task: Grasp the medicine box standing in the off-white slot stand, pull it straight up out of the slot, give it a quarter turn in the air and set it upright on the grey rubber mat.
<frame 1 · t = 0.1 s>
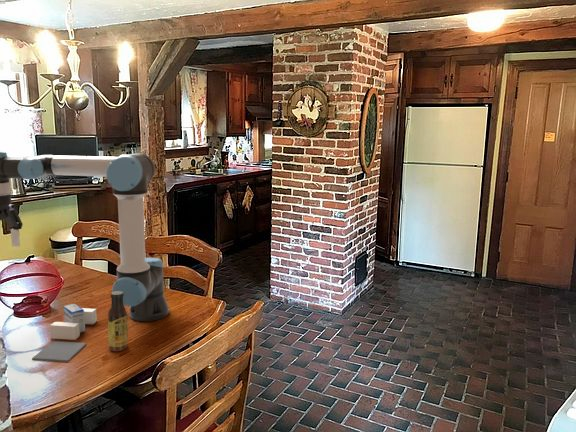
hand: (4, 250, 174), 28 cm above the table, tool pointing down, fingers open, 13 cm apart
slot stand: (74, 329, 175), on the table
sauce bottle: (118, 348, 161), on the table
rubber mat: (60, 351, 158), on the table
medicine box: (74, 330, 175), on the table
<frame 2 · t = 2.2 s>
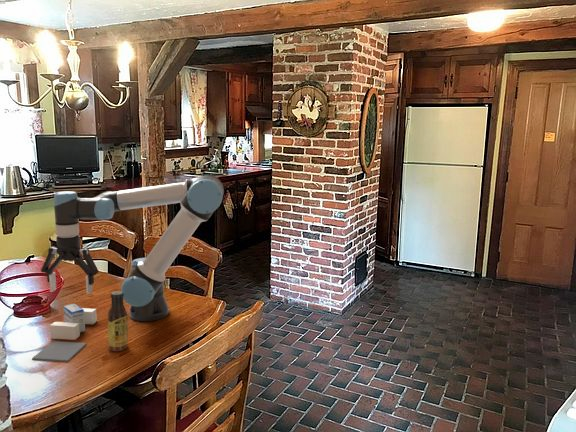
hand: (71, 291, 172), 15 cm above the table, tool pointing down, fingers open, 13 cm apart
nothing on the table moved.
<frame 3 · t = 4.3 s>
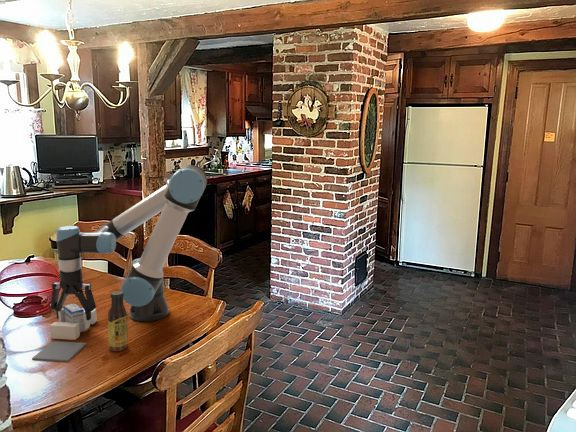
hand: (74, 327, 174), 1 cm above the table, tool pointing down, fingers closed on medicine box, 9 cm apart
medicine box: (74, 329, 175), on the table, touching gripper
everything else where it was.
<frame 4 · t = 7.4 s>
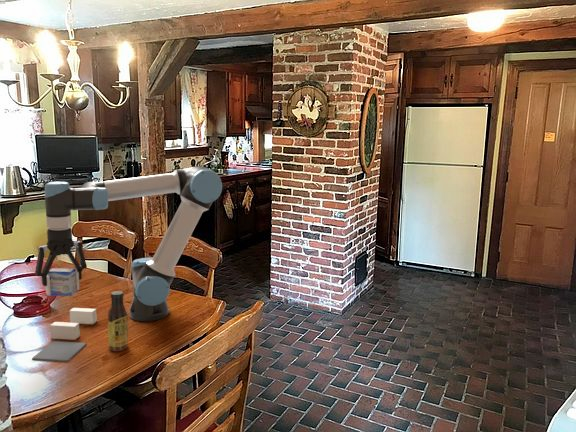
hand: (62, 291, 163), 18 cm above the table, tool pointing down, fingers closed on medicine box, 9 cm apart
medicine box: (63, 294, 164), point 17 cm above the table, touching gripper
everything else where it was.
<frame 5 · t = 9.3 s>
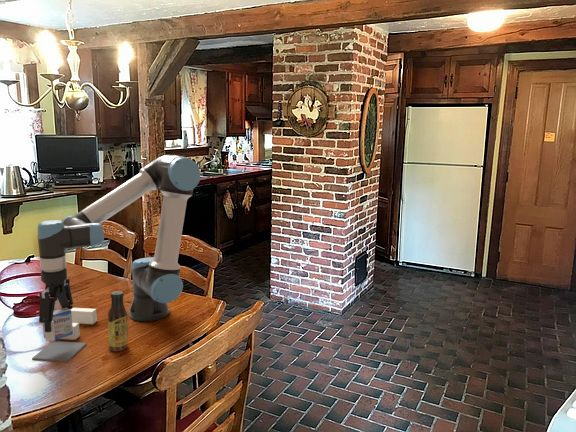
hand: (58, 333, 156), 7 cm above the table, tool pointing down, fingers closed on medicine box, 9 cm apart
medicine box: (58, 336, 157), point 6 cm above the table, touching gripper
everything else where it was.
when the fingers open (3 cm above the table, at t = 10.8 s): medicine box drops 1 cm, resting on rubber mat.
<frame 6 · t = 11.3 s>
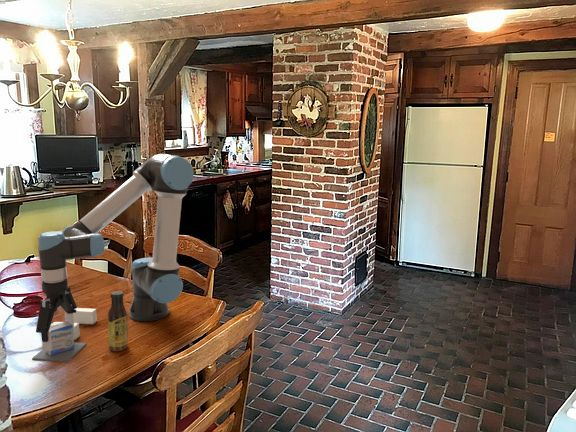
hand: (59, 340, 157), 4 cm above the table, tool pointing down, fingers open, 13 cm apart
medicine box: (60, 350, 158), resting on rubber mat
everything else where it was.
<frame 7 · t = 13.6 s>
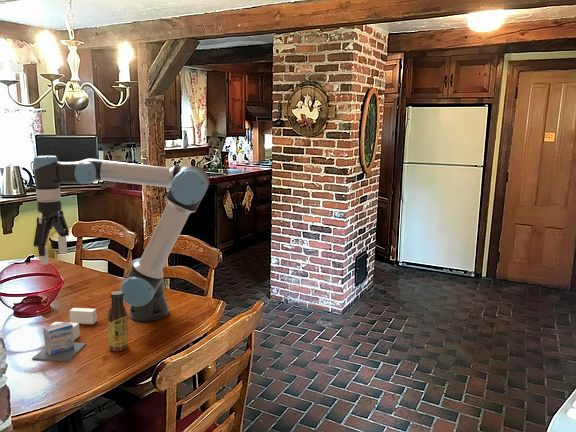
hand: (54, 258, 169), 27 cm above the table, tool pointing down, fingers open, 13 cm apart
nothing on the table moved.
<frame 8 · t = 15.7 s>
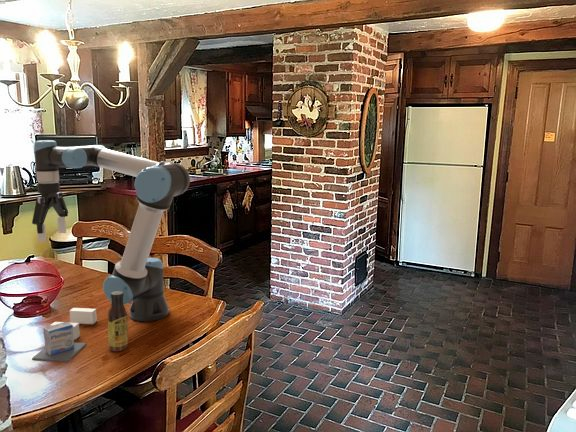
hand: (52, 237, 181), 32 cm above the table, tool pointing down, fingers open, 13 cm apart
nothing on the table moved.
at the end: medicine box inside the target area on the rubber mat (0.0 cm from its centre), point 0.4 cm above the rubber mat's base; medicine box tilted 0°; the gripper is holding nothing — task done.
